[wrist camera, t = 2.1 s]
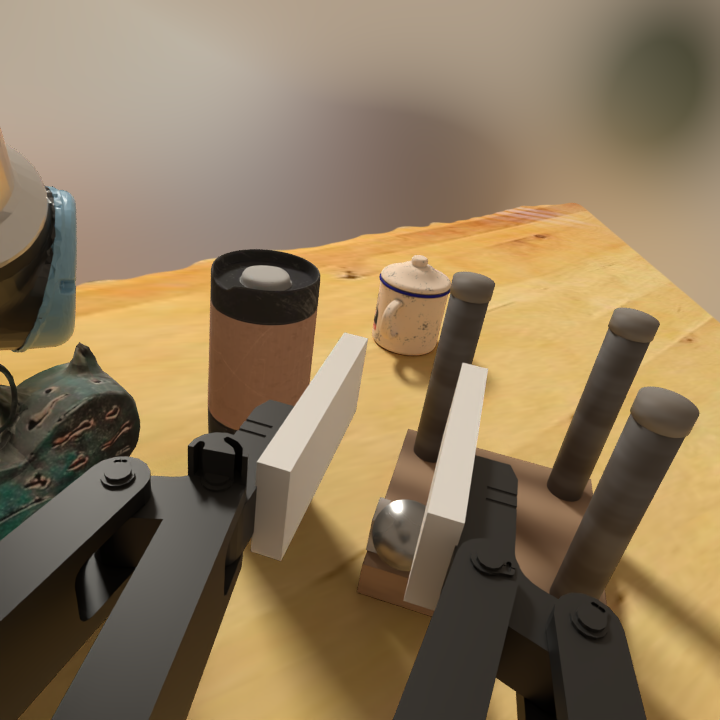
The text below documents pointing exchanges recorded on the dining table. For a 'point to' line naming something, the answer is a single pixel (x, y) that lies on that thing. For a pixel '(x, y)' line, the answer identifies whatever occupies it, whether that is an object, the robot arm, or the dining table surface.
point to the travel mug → (259, 333)
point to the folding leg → (398, 533)
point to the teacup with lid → (410, 307)
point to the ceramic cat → (59, 432)
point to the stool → (572, 466)
